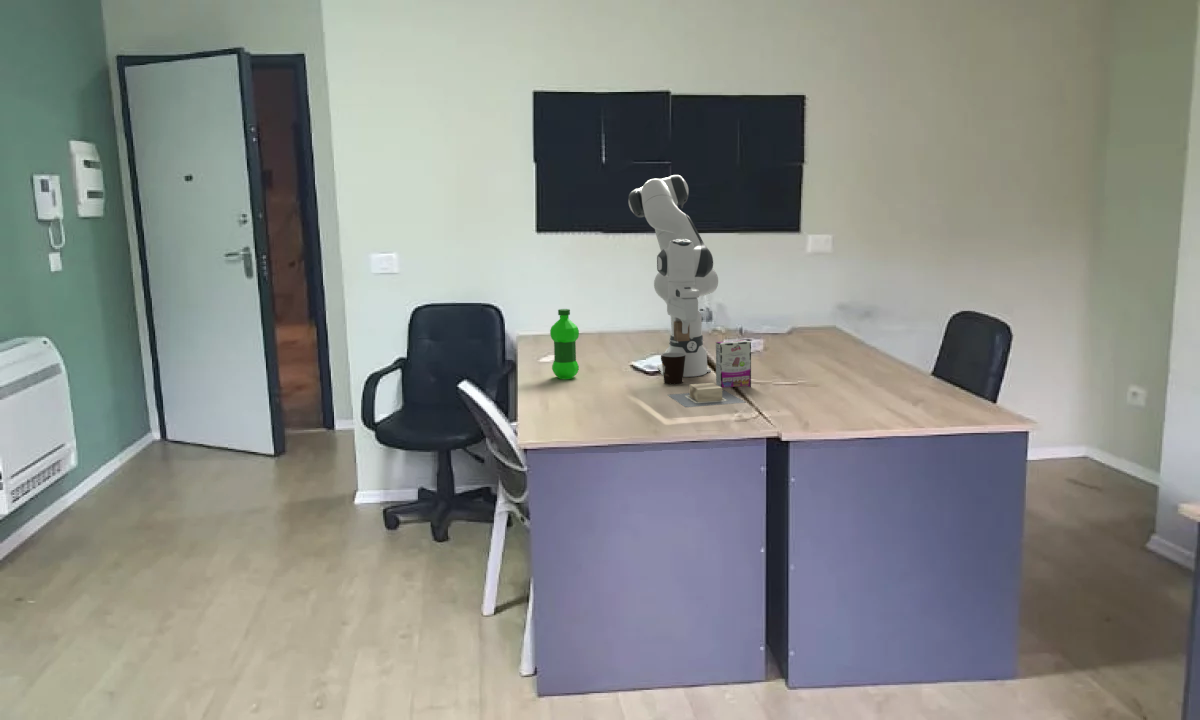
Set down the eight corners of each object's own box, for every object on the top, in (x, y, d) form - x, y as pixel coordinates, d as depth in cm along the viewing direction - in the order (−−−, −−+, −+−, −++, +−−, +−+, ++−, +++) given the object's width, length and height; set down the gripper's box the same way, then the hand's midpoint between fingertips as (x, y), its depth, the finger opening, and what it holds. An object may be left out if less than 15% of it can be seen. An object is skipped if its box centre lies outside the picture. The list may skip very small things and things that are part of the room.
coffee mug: (684, 385, 324) (684, 357, 323) (659, 384, 326) (659, 356, 324) (687, 378, 336) (687, 351, 334) (664, 377, 337) (663, 350, 335)
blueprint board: (666, 399, 304) (666, 394, 304) (724, 394, 309) (724, 390, 309) (685, 411, 287) (685, 406, 287) (746, 407, 292) (746, 402, 292)
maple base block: (689, 396, 301) (689, 384, 300) (712, 394, 303) (713, 382, 302) (698, 402, 293) (698, 389, 292) (722, 400, 295) (722, 387, 294)
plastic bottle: (546, 379, 338) (544, 310, 333) (560, 374, 347) (559, 307, 343) (570, 381, 334) (568, 312, 329) (584, 376, 343) (583, 308, 338)
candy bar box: (745, 386, 321) (745, 339, 318) (751, 389, 316) (752, 341, 313) (714, 388, 318) (715, 341, 315) (720, 392, 314) (721, 343, 311)
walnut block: (673, 339, 307) (673, 321, 305) (685, 338, 308) (685, 320, 306) (677, 341, 303) (677, 323, 302) (689, 340, 304) (689, 322, 303)
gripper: (662, 287, 311) (662, 328, 314) (682, 293, 292) (682, 337, 294) (680, 286, 313) (680, 327, 315) (701, 292, 293) (701, 336, 296)
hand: (681, 332), depth 305 cm, fingers closed on walnut block, 4 cm apart
